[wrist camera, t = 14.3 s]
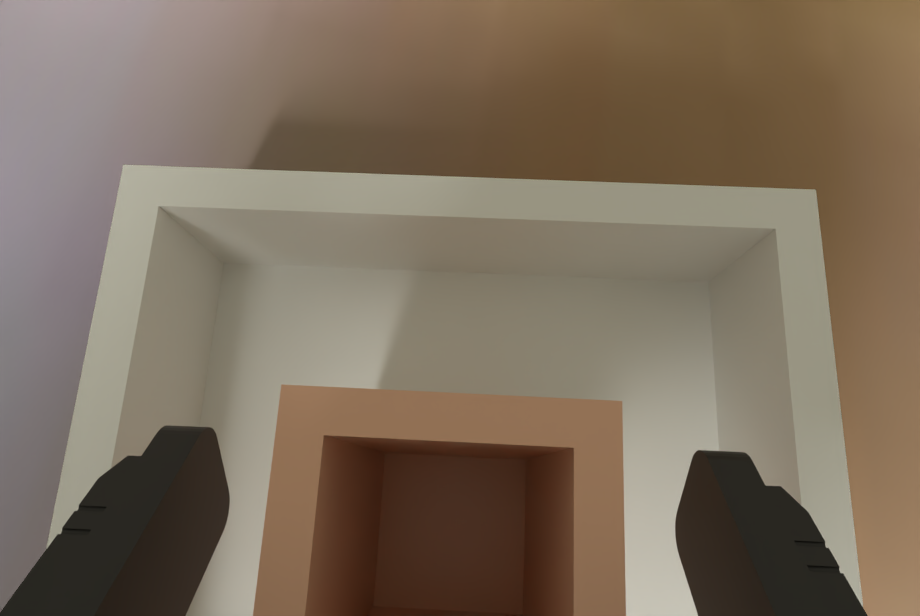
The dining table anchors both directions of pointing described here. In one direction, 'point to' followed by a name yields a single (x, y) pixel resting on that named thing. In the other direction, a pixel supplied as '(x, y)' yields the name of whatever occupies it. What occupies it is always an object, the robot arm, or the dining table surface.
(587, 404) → the tub
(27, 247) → the dining table surface
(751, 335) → the tray
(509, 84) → the dining table surface
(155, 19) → the dining table surface
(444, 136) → the dining table surface
